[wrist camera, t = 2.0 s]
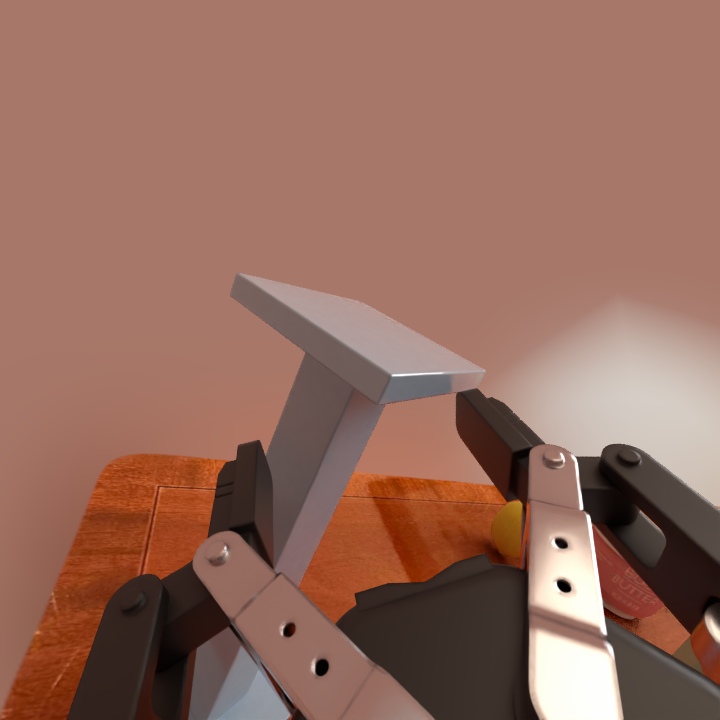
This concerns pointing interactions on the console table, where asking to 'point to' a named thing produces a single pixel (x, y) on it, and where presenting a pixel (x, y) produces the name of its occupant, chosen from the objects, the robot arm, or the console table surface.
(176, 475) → the console table surface
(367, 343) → the low stand
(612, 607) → the container
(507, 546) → the lemon
